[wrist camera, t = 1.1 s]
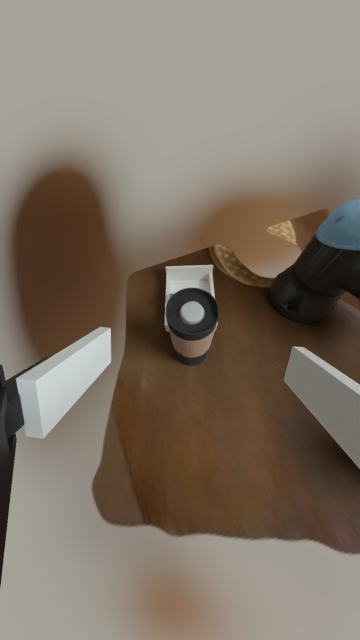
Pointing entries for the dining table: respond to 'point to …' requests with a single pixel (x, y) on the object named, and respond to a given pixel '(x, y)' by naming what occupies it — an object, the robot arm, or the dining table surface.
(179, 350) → the travel mug
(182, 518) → the dining table surface
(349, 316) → the dining table surface
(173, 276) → the white open box
